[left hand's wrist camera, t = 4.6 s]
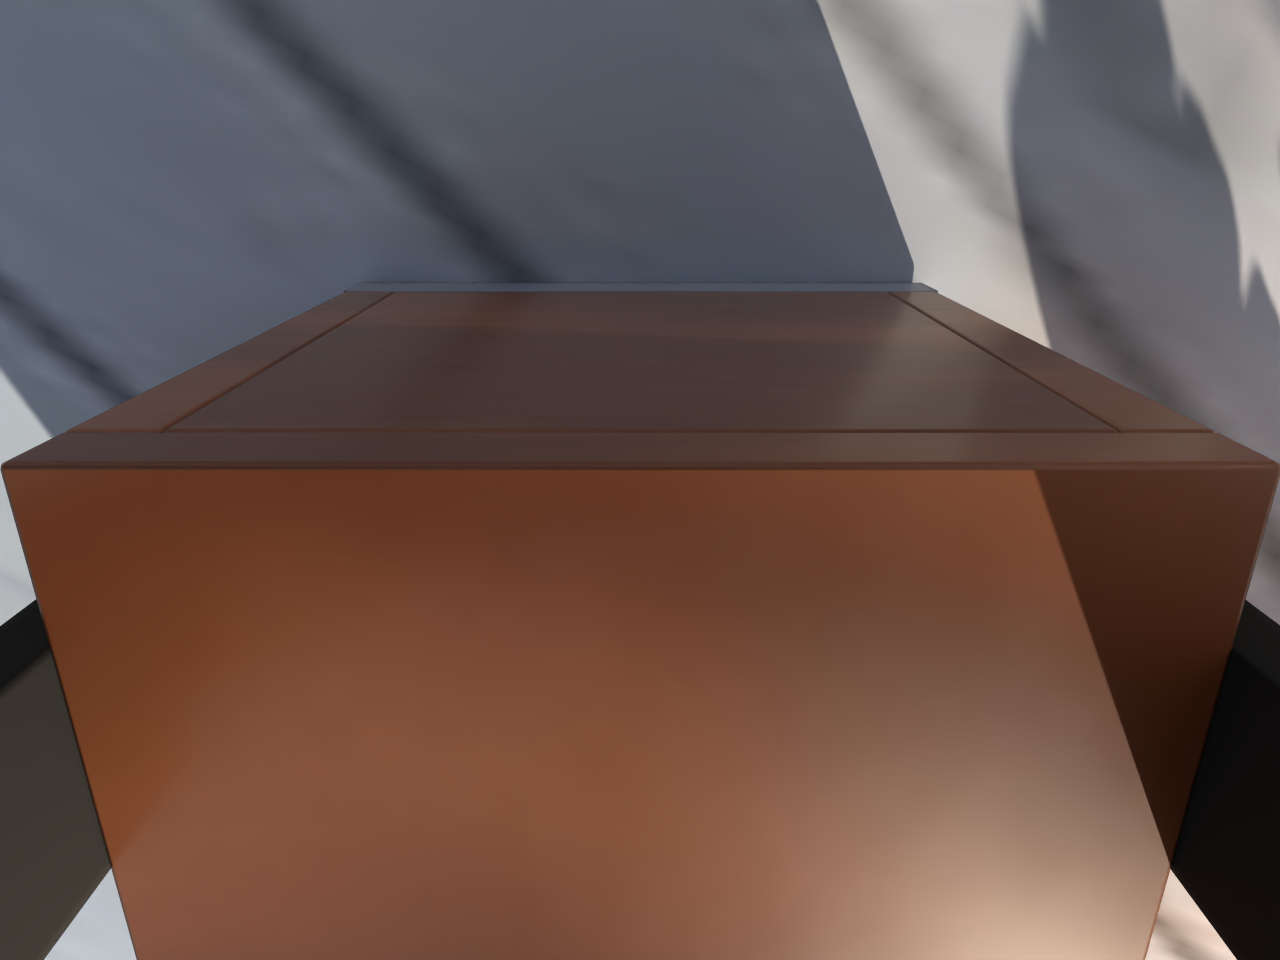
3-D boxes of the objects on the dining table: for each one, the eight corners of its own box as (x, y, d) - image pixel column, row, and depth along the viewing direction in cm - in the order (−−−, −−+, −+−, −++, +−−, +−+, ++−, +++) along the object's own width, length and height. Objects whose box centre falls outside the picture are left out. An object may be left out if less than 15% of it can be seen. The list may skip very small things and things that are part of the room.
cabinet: (852, 895, 23) (1010, 1454, 13) (429, 894, 23) (270, 1453, 13) (921, 283, 18) (1288, 462, 8) (360, 282, 18) (-7, 462, 8)
